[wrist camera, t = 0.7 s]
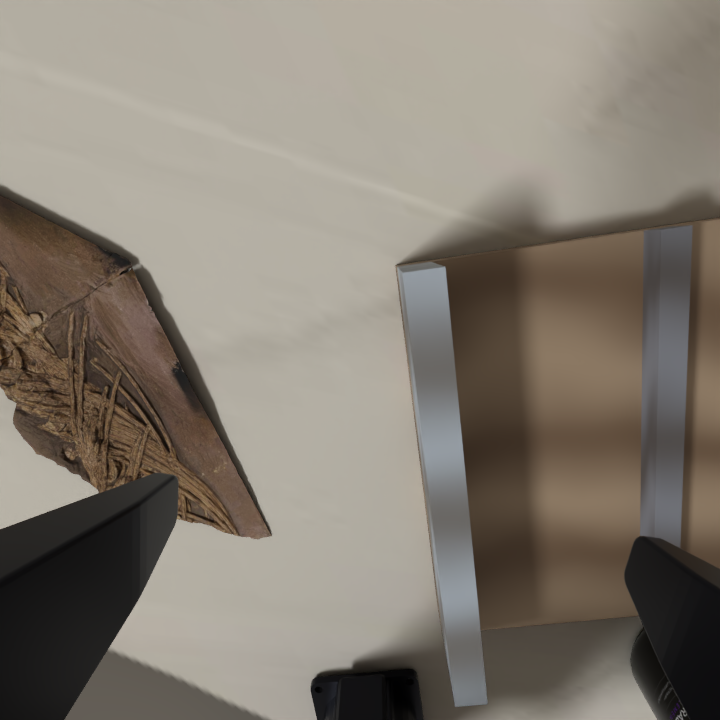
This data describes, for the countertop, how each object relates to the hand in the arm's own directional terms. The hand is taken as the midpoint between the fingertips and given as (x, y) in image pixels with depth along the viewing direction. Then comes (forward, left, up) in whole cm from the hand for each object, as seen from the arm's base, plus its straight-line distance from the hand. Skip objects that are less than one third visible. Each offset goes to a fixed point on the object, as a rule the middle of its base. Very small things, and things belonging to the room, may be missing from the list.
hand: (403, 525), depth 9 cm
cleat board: (-6, -9, -14) cm, 18 cm away
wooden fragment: (+1, +15, -15) cm, 21 cm away
